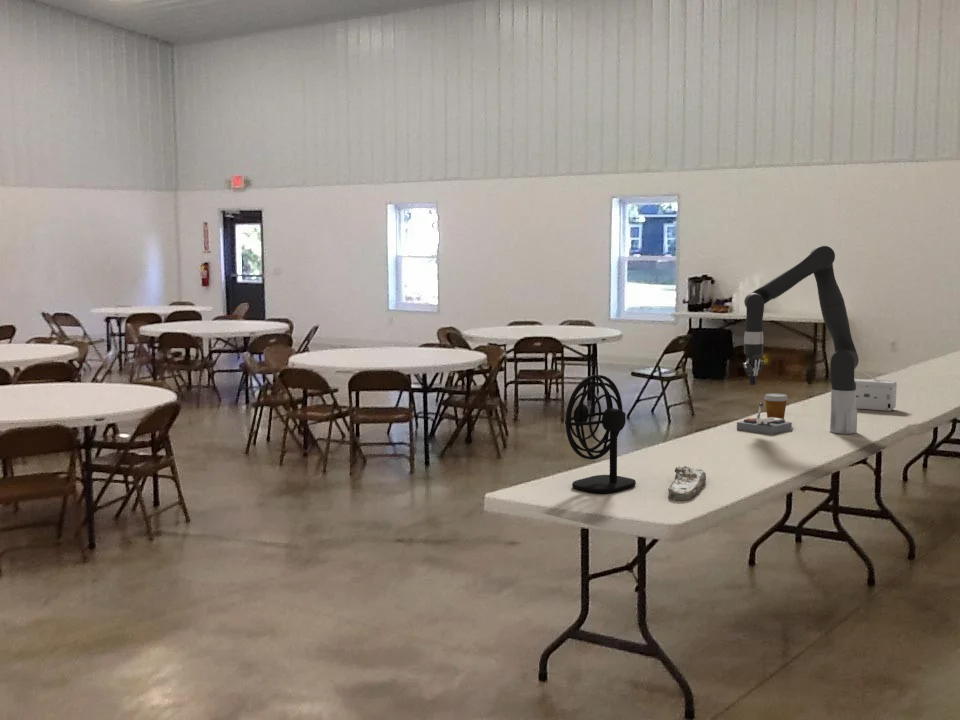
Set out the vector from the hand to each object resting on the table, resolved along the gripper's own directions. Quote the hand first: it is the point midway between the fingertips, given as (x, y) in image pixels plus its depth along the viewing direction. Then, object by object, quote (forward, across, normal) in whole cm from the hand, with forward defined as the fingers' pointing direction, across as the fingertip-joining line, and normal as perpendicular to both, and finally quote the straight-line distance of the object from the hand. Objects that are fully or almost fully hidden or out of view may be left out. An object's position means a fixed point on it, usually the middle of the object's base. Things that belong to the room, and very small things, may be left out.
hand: (753, 384), depth 415 cm
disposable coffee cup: (+18, +19, 0) cm, 26 cm away
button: (+15, -1, 0) cm, 15 cm away
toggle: (+15, +7, +2) cm, 17 cm away
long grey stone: (+19, -103, -39) cm, 112 cm away
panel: (+18, +2, -4) cm, 19 cm away
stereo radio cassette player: (+19, +81, -11) cm, 84 cm away
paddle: (+15, +5, -7) cm, 17 cm away
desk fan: (+18, -119, -19) cm, 122 cm away
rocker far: (+14, -2, -7) cm, 16 cm away
